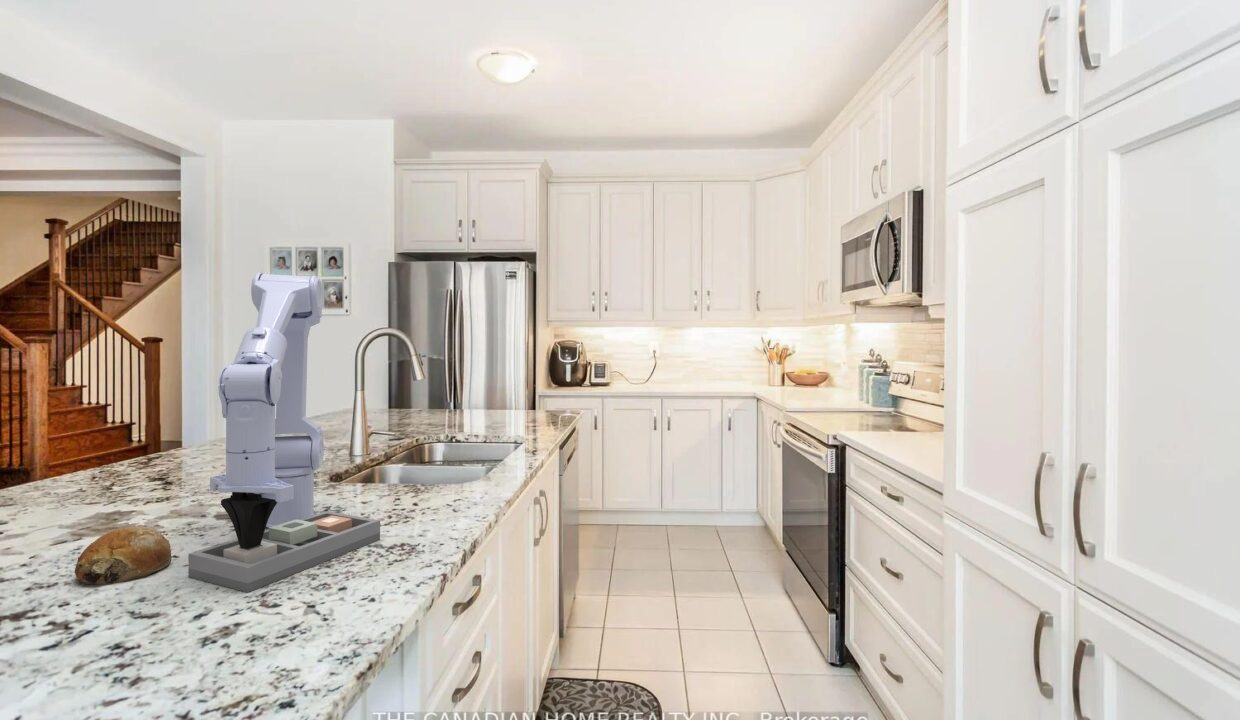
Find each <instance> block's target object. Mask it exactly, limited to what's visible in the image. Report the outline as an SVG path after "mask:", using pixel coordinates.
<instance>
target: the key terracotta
mask: <svg viewBox="0 0 1240 720" xmlns="http://www.w3.org/2000/svg"><path fill="white" fill-rule="evenodd" d="M313 523H317V529H321V530H326V531H331V532H337V533H339V532H342V531H345V530H347V529H350V528H352V519H350V518H344V517H338V516H333V515H332V516H328V517H325V518H322V519H319V520H316V521H313Z"/></svg>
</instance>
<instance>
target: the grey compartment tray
mask: <svg viewBox="0 0 1240 720" xmlns="http://www.w3.org/2000/svg"><path fill="white" fill-rule="evenodd" d="M315 514H316V515H313V516H310V517H306V518H303V519H300V520H302V521H308V522H313V521H316V520H319V519H322V518H325V517H328V516H332V515H333V516H338V517H344V518H350V519H352V528H350V529H347V530H345V531H342V532H339V533H337V532H331V531H326V530H321V529H317V536H316V537H314V538H311V539H308V540H305V541H302V542H299V543H296V544H293V545H291V544H286V543H281V542H276V541H272V540H269V528H267V529H265V531H264V535H263V538H262V541H265V542H269V543H274V544H277V555H274V556H271V557H269V558H266V559H263V560H260V561H257V562H254V563H252V564H248V563H244V562H239V561H235V560H231V559H227V558H223V557H224V549H227V548H230V547H234V546H237V545H239V542H238V538H235V539H234V538H233V539H231V540H228V541H225V542H221V543H219V544H215V545H212V546H209V547H204V548H202V549H199V550H195V551H191V552H189V553H188V555H187V556H188V557H187V558H188V560H187V562H188V563H187V564H188V566H187V567H188V568H187V569H188V570H187V571H188V574H187V577H188V578H191V579H195V580H199V581H203V582H207V583H210V584H214V585H217V586H221V587H224V588H229V589H232V590H237V591H240V592H243V593H251V592H253V591H255V590H257V589H260V588H262V587H265V586H267V585H271V584H273V583H275V582H277V581H280V580H283V579H285V578H287V577H290V576H292V575H296V574H298V573H301V572H302V571H305V570H308V569H310V568H312V567H316V566H317V565H320V564H322V563H326V562H327V561H330V560H333V559H335V558H337V557H340V556H342V555H345V554H348V553H350V552H352V551H355V550H358V549H360V548H362V547H365V546H368V545H370V544H373V543H375V542H377V541H381V520H380V519H375V518H369V517H365V516H357V515H352V514H346V513H342V512H341V513H340V512H336V511H335V512H334V511H329V510H328V511H327V510H326V511H323V512H319V513H315Z"/></svg>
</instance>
